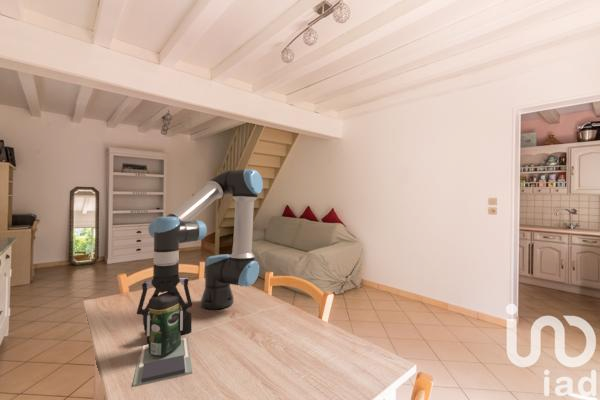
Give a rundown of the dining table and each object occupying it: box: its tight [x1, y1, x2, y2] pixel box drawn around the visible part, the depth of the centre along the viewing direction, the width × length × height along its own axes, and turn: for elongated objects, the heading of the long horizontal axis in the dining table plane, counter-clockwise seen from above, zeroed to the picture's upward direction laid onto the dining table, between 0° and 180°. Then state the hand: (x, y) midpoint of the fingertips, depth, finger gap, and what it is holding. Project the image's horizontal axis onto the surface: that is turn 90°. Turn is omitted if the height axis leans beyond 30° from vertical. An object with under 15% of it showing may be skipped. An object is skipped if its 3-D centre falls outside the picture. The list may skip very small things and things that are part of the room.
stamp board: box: [132, 337, 193, 387], centre depth 88 cm, size 15×22×1 cm
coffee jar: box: [147, 291, 182, 356], centre depth 92 cm, size 10×8×19 cm
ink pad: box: [140, 355, 187, 383], centre depth 82 cm, size 12×8×1 cm
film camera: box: [143, 310, 192, 345], centre depth 103 cm, size 18×12×10 cm
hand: (165, 331), depth 92 cm, fingers closed on coffee jar, 9 cm apart
